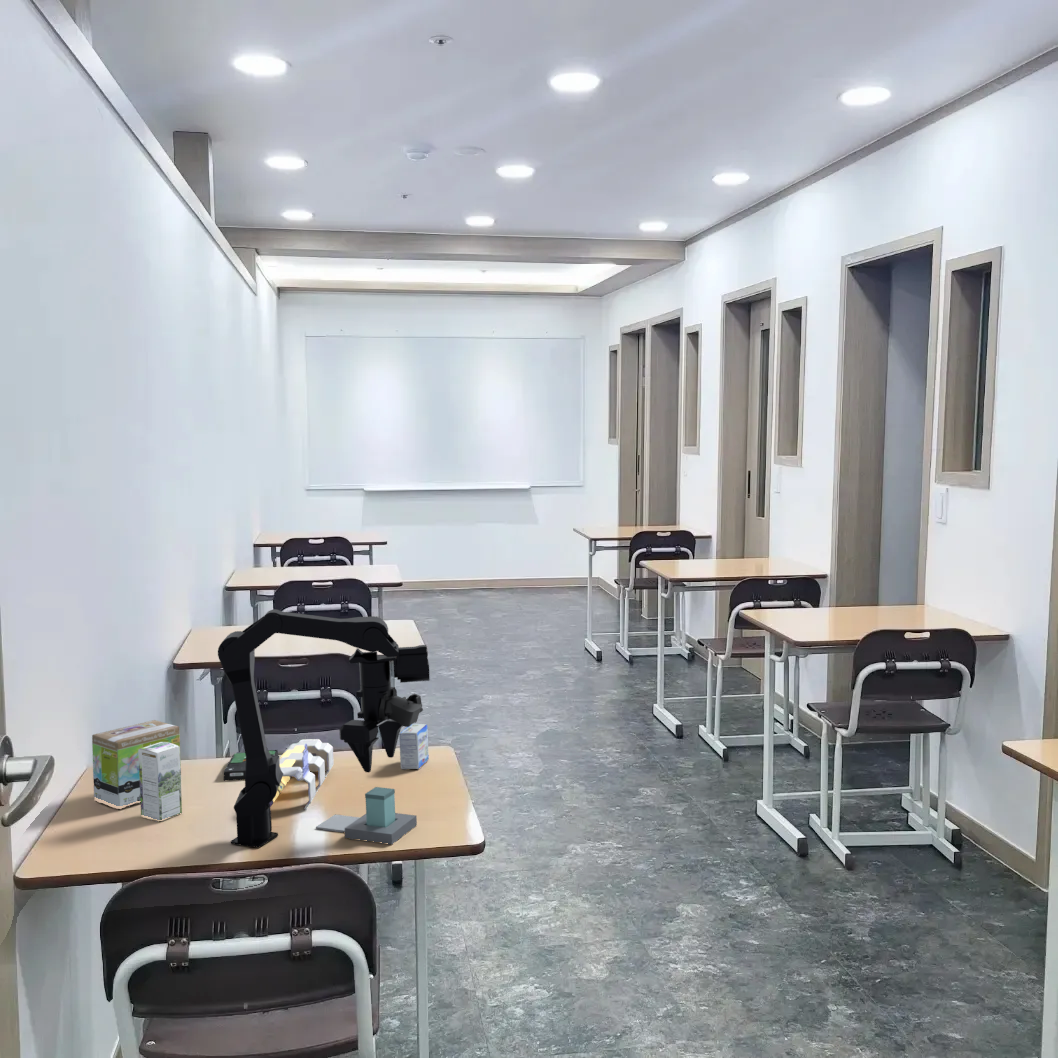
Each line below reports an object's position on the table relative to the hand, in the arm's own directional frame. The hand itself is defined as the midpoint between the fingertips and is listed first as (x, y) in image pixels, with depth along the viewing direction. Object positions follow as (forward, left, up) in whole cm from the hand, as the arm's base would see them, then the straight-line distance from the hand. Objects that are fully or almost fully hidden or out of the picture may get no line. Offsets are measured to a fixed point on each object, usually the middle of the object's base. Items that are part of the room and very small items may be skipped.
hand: (379, 764), depth 195 cm
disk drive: (+25, +48, -14) cm, 56 cm away
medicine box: (+39, +13, -13) cm, 43 cm away
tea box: (+2, +60, -13) cm, 61 cm away
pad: (+1, +9, -13) cm, 16 cm away
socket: (0, 0, -13) cm, 13 cm away
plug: (0, 0, -13) cm, 13 cm away
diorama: (+16, +29, -14) cm, 36 cm away
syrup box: (-6, +47, -13) cm, 49 cm away
